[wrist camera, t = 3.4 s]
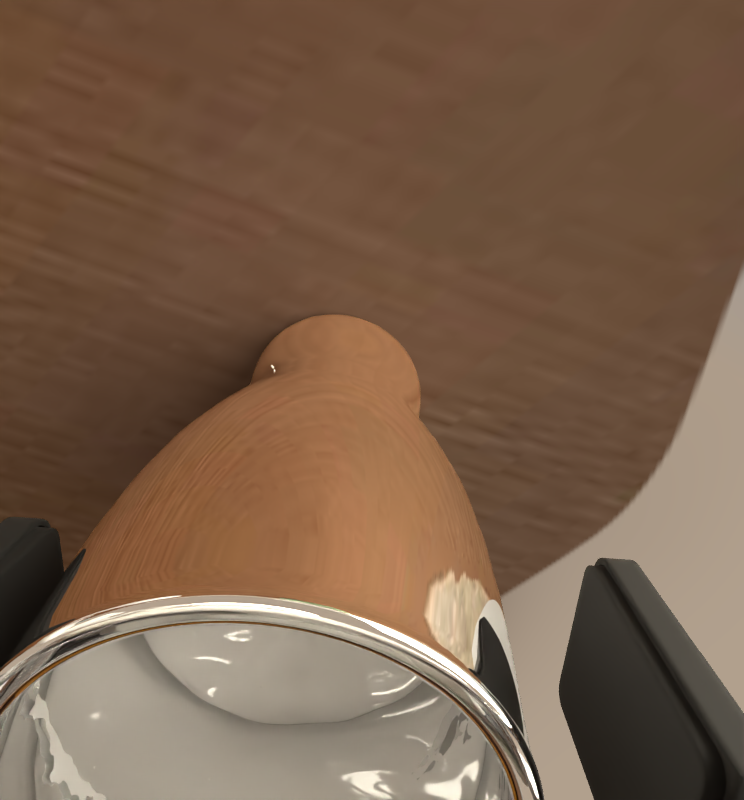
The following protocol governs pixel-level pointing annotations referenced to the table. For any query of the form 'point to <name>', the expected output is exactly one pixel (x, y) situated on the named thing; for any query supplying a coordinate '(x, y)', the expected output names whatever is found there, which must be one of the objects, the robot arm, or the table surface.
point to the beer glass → (278, 609)
